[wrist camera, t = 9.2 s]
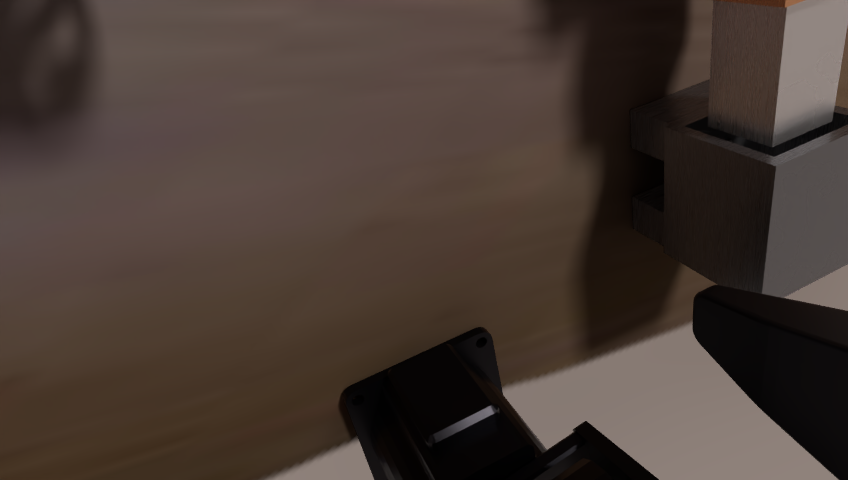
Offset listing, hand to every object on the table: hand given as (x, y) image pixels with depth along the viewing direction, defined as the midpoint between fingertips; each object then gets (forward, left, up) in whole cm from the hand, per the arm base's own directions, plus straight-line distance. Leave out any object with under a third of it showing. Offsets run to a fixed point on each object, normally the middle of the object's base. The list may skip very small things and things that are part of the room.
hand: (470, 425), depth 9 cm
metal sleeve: (-5, -15, -12) cm, 20 cm away
